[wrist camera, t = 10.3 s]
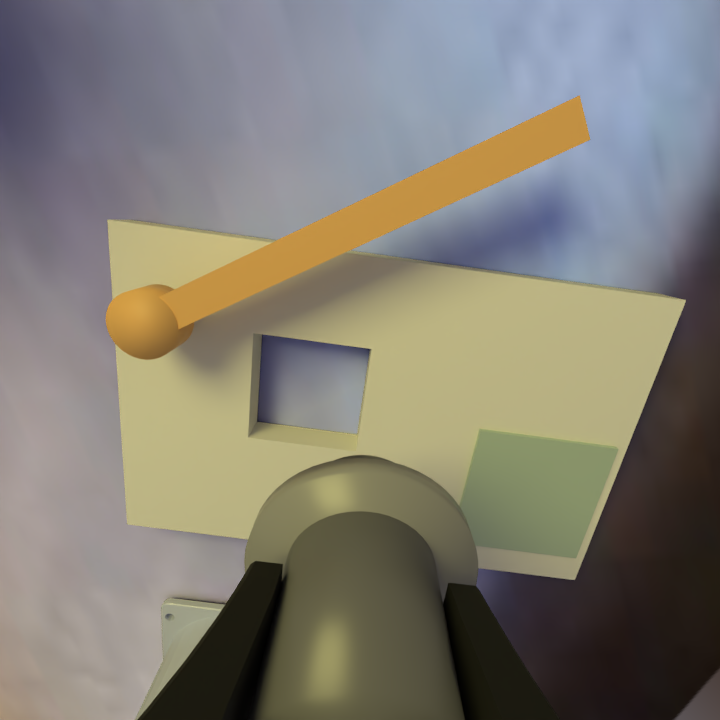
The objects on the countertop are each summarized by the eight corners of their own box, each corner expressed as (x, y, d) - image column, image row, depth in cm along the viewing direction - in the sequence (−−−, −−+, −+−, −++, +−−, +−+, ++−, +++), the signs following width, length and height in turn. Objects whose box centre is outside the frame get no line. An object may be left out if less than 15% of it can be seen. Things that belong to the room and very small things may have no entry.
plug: (440, 588, 13) (495, 879, 7) (264, 571, 13) (182, 850, 7) (475, 434, 11) (587, 662, 5) (270, 412, 11) (164, 621, 5)
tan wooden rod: (573, 166, 13) (596, 160, 12) (152, 357, 16) (132, 370, 14) (552, 87, 12) (574, 71, 11) (116, 300, 15) (91, 308, 14)
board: (561, 556, 21) (583, 595, 19) (143, 503, 21) (116, 537, 19) (659, 293, 17) (703, 304, 15) (130, 219, 16) (92, 219, 14)
